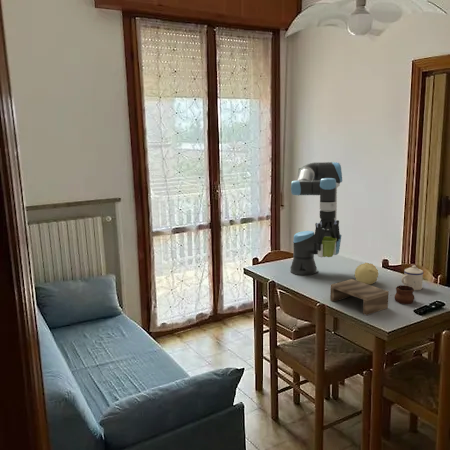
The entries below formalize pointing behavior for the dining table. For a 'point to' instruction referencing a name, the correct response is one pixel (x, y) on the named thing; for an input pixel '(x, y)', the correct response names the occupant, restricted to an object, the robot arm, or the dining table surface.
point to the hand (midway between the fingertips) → (326, 255)
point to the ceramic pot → (404, 294)
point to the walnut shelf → (361, 295)
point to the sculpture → (366, 273)
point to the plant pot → (328, 246)
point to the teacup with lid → (413, 277)
